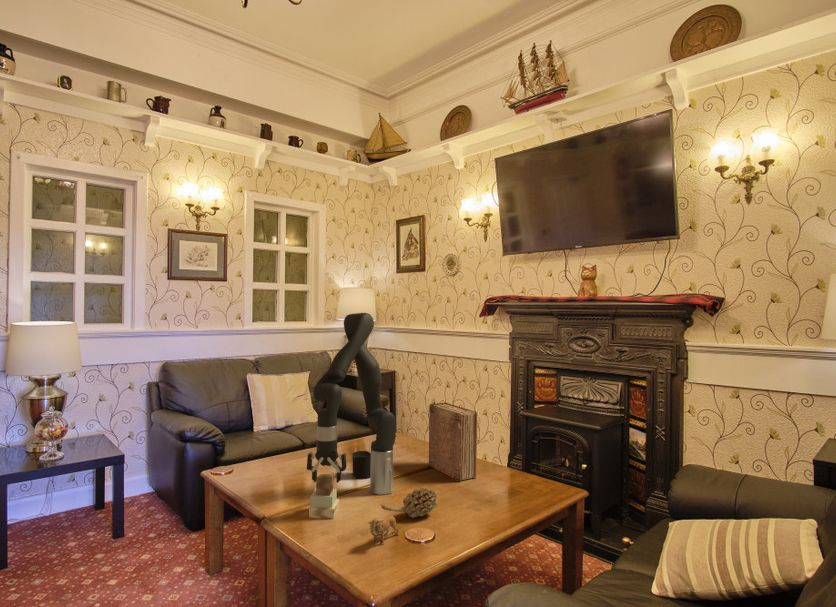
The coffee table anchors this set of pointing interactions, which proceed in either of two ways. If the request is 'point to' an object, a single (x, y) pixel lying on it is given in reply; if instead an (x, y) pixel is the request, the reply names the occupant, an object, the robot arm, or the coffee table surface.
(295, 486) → the coffee table surface
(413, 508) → the pine cone
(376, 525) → the lion figurine
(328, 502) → the tower top
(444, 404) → the book
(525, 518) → the coffee table surface
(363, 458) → the pen holder
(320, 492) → the walnut block
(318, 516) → the block
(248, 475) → the coffee table surface
